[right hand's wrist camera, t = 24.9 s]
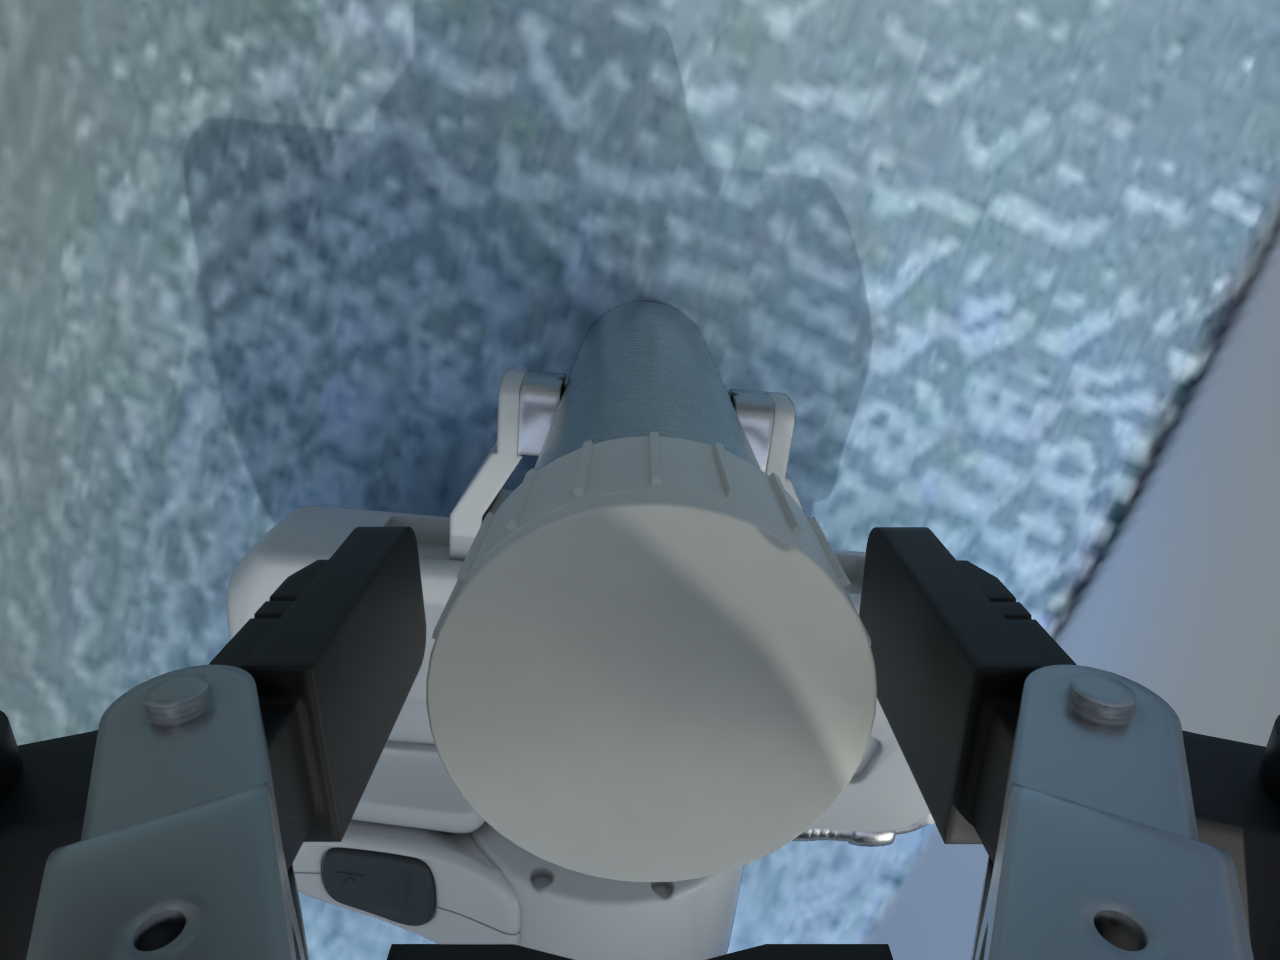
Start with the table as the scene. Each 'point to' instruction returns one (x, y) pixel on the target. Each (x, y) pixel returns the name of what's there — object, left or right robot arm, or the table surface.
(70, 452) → the table surface
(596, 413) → the jar
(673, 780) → the lid
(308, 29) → the table surface
